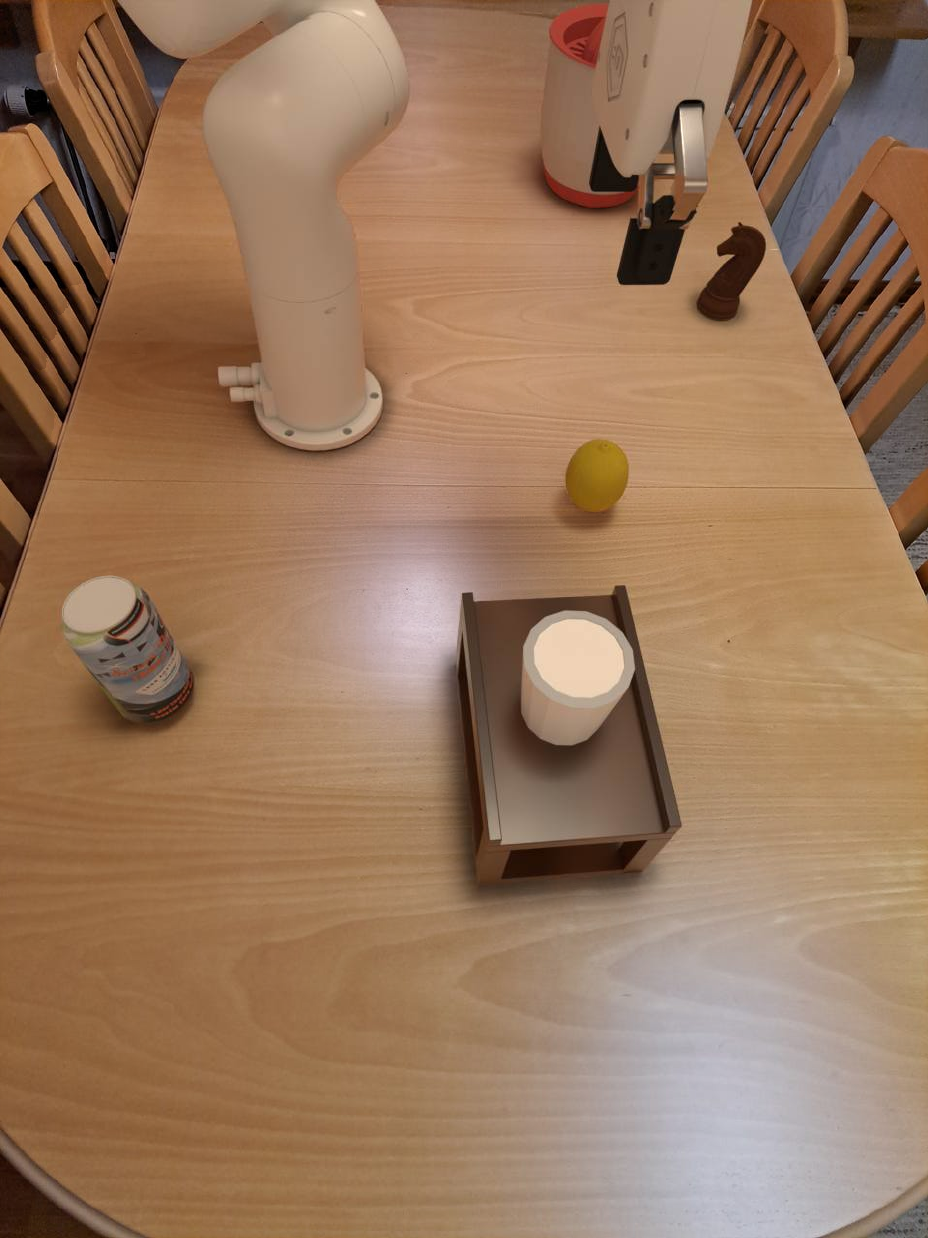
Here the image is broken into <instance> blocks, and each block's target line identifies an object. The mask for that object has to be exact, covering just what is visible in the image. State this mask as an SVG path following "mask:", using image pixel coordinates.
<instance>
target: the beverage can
mask: <svg viewBox="0 0 928 1238" xmlns="http://www.w3.org/2000/svg"><path fill="white" fill-rule="evenodd" d="M61 618H62V620H61V629H62V630H61V631H62V635H63V637H64V639H65V641H66V642H67V644H68V645H69V646H70V648H71V649H72V650H73V652H74V653H75V655H76V656H77V657H78V659H79V660H80V661H81V662H82V664H83V665H84V667H85V668H86V669H87V670H88V672H89V673H90V675H91V676H92V677H93V679H94V680H95V682H96V683H97V684H98V686H99V687H100V688H101V690H102V692H104V694H105V695H106V696H107V698H108V699H109V700H110V702H111V704H113V706H114V707H115V709H116V710H117V711H118V712H119V714H120V715H121V716H122V717H123V718H125V719H126V720H127V721H130V722H133V723H137V724H152V723H158V722H160V721H163V720H166V719H168V718H170V717H172V716H173V715H175V714H176V713H177V712H179V711H180V710H181V709H182V708H183V707H184V706H185V705H186V704H187V702H188V700H189V699H190V698H191V696H192V693H193V691H194V685H195V678H194V674H193V672H192V670H191V668H190V666H189V665H188V662H187V661H186V659H185V657H184V655H183V654H182V653H181V650H180V649H179V647H178V645H177V643H176V642H175V640H174V638H173V636H172V635H171V633H170V630H169V629H168V628H167V626H166V624H165V622H164V620H163V619H162V617H161V616H160V613H159V612H158V610H157V608H156V607H155V605H154V603H153V601H152V599H151V598H150V596H149V594H148V593H147V592H146V591H145V590H144V588H142V587H140V586H138V585H137V584H135V583H133V582H131V581H129V580H127V579H126V578H123V577H121V576H117V575H102V576H97V577H94V578H91V579H89V580H86V581H84V582H83V583H81V584H79V585H78V586H76V587H75V588H74V589H73V590H72V591H71V592H70V593H69V594H68V595H67V597H66V598H65V600H64V602H63V604H62V607H61Z"/></svg>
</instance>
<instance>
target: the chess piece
mask: <svg viewBox="0 0 928 1238" xmlns="http://www.w3.org/2000/svg"><path fill="white" fill-rule="evenodd" d="M737 224H738V225H737V226H733V227H731V228H730V231H731V235H730V237H728V238H726V239H725V240H724V241H722V242H721V243H719V244H718V245H717V246H716V254H717V256H718V257H719V258H721V257H723V256H732V257H730V258H729V259H727V261H725V262H724V263H723V264H722V265H721V267H719V268H718V270H717V271H716V272H715V273H714V274H713V276H712V277H711V279H709V280H708V281H707V283H706V285H705V287H703V289H702V290H701V292H700V293H699V296H698V298H697V301H696V306H697V309H698V311H699V312H700V314H702V315H703V316H704V317H706V318H708V319H711V320H713V321H728V320H730V319H732V318H733V317H735V316H736V314H737V313H738V310H739V306H740V304H741V303H740V302H741V301H740V299H741V297H740V295H741V294H742V293H743V292H744V290H745V289H746V287H747V286H748V285H749V283H750V281H751V280H752V278H753V277H754V275H755V273H756V272H757V271H758V269H759V268H760V266H761V264H762V262H763V260H764V258H765V255H766V250H767V241H766V237H765V236H764V233H762V232H761V231H760V230H759V229H757V228H755V227H753V226H751V225H744V224H743V223H741V222H740V221H738V222H737Z"/></svg>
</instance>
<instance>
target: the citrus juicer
mask: <svg viewBox="0 0 928 1238" xmlns="http://www.w3.org/2000/svg"><path fill="white" fill-rule="evenodd" d="M608 7H609V3H594V4H586V5H580V6H576V7H572V8H570V9H567V10H565V11H562V12H561V13H560V14H557V16H556V17H554V19H553V20H552V22H551V23H550V26H549V29H548V35H549V38H550V41H549V47H548V48H549V49H548V56H547V62H546V63H547V64H546V71H545V77H544V89H543V94H542V101H541V110H540V111H541V112H540V126H539V127H540V147H541V155H542V167H543V172H544V175H545V179H546V182H547V185H548V186H549V188H550V189H551V191H553V192H554V193H555V194H556V195H557V196H559V197H560V198H562V199H563V200H565V201H567V202H570V203H572V204H575V205H579V206H583V207H585V208H587V209H595V208H610V207H615V206H616V207H617V206H619V205H621V204H625V203H626V202H627V201H629V200H630V199H632V198H633V197H634V195H635V194H636V193H637V192H638V186H639V181H638V186H637V188H636V189H635V190H634V191H632V192H593V191H592V190H591V188H590V185H589V179H590V174H591V169H592V163H593V158H594V153H595V147H596V142H597V137H598V131H599V126H600V124H599V121H598V118H597V115H596V111H595V108H594V104H593V98H592V84H593V78H594V73H595V68H596V63H597V58H598V54H599V49H600V44H601V39H602V35H603V30H604V25H605V21H606V16H607V11H608ZM654 161H655V160H654ZM654 161H653V163H655V162H654Z"/></svg>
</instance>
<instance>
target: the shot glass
mask: <svg viewBox="0 0 928 1238" xmlns="http://www.w3.org/2000/svg"><path fill="white" fill-rule="evenodd" d="M634 671H635V665H634V656H633V649H632V648H631V646H630V644H629V643H628V641H627V639H626V637H625V636H624V634H623V632H622V631H620V630H619V629H618V628H617V627H615V626H614V625H613V624H612V623H611V622H609V621H608V620H607V619H605V618H602V617H600V616H597V615H594V614H592V613H589V612H587V611H562V612H559V613H556V614H553V615H550V616H546V617H545V618H544V619H542V620H541V621H540V622H539V623H538V624H537V625H535V626H534V627H533V628H532V629H531V630H530V633H529V635H528V637H527V639H526V642H525V644H524V646H523V664H522V684H521V714H522V716H523V718H524V720H525V722H526V724H527V726H528V728H529V729H530V730H531V731H532V732H533V733H535V734H536V735H537V736H538V737H539V738H540V739H542V740H545V741H547V742H550V743H552V744H555V745H575V744H577V743H580V742H583V741H585V740H587V739H588V738H589V737H590V736H592V735H593V734H594V733H595V732H596V731H597V730H598V728H599V727H600V726H601V724H602V723H603V722H604V720H605V719H606V717H607V716H608V715H609V713H610V712H611V711H612V709H613V708H614V706H615V705H616V704H617V702H618V701H619V700H620V698H621V697H622V696H623V694H624V693H625V691H626V690H627V689H628V687H629V685H630V682H631V679H632V676H633V673H634Z"/></svg>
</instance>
